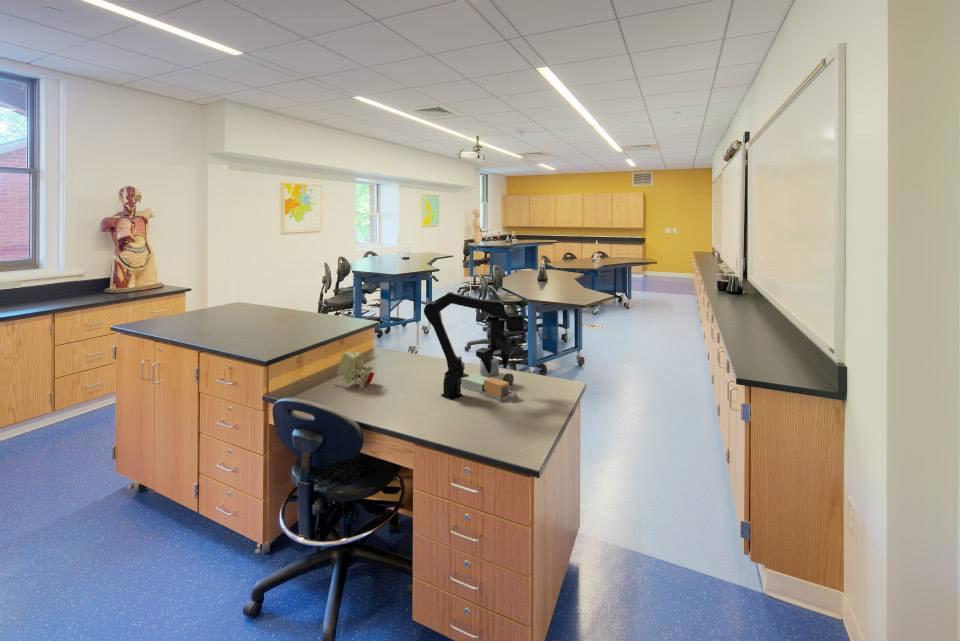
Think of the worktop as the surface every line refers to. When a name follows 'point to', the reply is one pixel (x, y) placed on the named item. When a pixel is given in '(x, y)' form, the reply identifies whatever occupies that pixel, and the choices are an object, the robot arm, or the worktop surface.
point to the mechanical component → (354, 369)
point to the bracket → (510, 395)
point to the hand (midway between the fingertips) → (497, 370)
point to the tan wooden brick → (496, 387)
